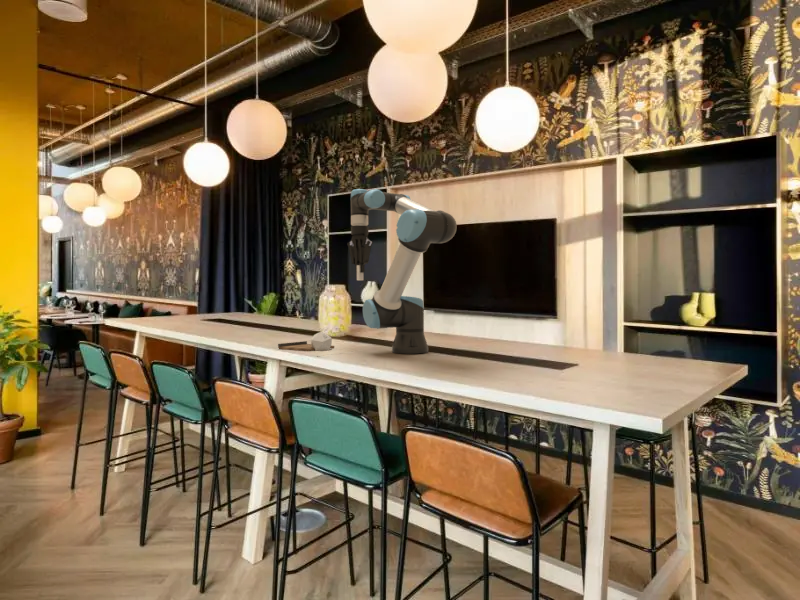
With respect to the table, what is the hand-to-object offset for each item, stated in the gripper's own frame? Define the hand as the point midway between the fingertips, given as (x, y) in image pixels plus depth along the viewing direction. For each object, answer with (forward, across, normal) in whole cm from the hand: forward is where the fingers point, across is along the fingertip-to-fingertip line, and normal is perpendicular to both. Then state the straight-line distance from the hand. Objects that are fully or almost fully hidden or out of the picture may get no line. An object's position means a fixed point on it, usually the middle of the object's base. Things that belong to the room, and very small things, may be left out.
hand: (360, 280), depth 234 cm
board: (+29, +19, +14) cm, 38 cm away
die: (+30, +5, +14) cm, 33 cm away
